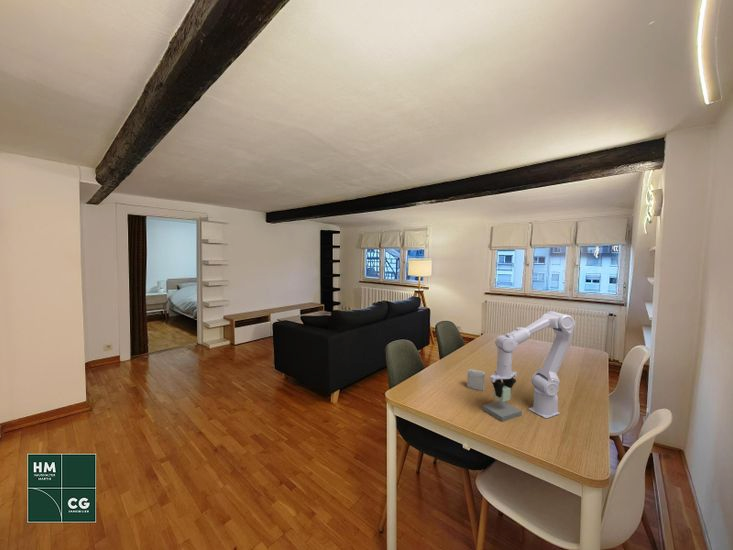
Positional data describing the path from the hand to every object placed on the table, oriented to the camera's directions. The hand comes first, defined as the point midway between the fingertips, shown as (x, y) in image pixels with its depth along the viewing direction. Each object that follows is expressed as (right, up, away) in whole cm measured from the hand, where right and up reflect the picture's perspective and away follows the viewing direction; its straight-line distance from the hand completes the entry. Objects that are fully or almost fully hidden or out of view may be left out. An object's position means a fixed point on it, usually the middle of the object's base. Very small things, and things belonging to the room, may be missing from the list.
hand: (502, 395), depth 122 cm
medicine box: (-2, -7, +24) cm, 25 cm away
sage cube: (0, -2, 0) cm, 2 cm away
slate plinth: (0, -8, +1) cm, 8 cm away
